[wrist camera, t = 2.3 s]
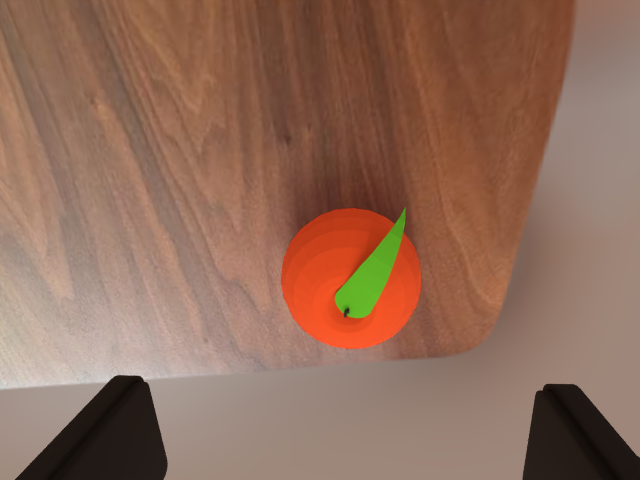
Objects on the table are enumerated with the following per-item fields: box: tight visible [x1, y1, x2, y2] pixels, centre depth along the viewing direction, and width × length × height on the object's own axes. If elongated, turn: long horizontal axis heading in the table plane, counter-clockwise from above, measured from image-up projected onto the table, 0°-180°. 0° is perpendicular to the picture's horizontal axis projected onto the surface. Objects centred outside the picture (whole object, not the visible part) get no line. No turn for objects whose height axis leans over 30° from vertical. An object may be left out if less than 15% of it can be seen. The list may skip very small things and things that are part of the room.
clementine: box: [281, 207, 421, 349], centre depth 18 cm, size 8×7×7 cm
